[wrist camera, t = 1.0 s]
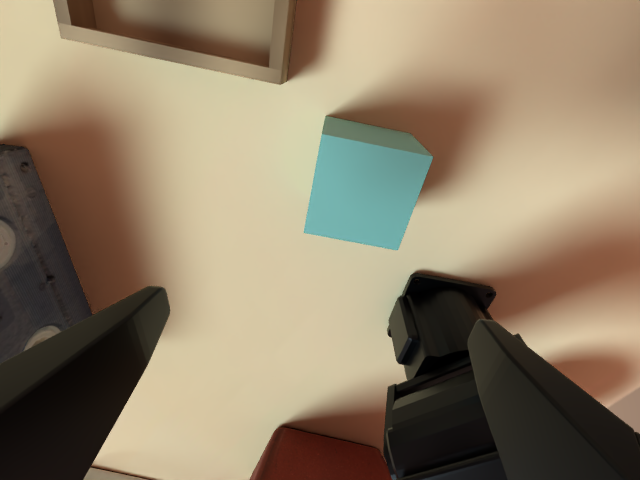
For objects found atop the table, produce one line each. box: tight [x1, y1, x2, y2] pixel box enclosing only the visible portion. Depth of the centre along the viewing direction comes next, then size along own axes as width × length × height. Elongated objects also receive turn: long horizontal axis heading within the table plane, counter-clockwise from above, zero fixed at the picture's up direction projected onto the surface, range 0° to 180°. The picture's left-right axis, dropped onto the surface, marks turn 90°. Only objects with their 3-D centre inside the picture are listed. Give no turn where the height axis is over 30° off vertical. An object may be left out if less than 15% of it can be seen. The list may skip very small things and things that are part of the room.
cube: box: [304, 116, 433, 250], centre depth 17 cm, size 5×5×5 cm
